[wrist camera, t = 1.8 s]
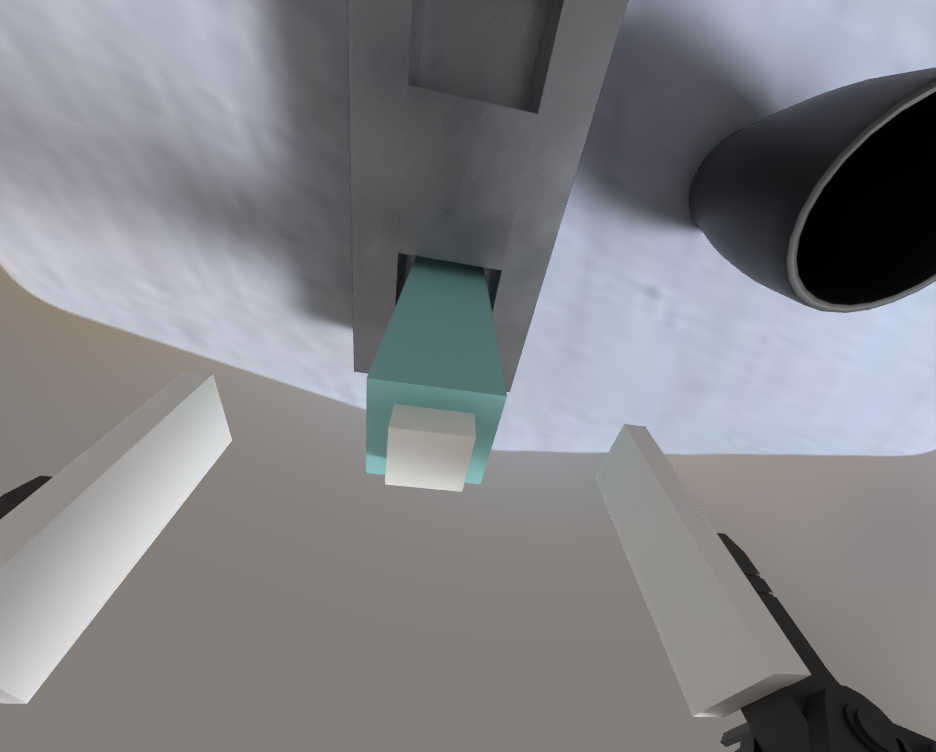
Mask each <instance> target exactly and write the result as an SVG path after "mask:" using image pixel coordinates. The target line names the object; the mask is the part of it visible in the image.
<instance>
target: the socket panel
mask: <svg viewBox="0 0 936 752" xmlns="http://www.w3.org/2000/svg"><path fill="white" fill-rule="evenodd" d="M627 2H628V0H347V3H348V59H349V116H350V172H351V229H352V285H353V342H354V372H362V373H369V372H370V369H371V367H372V364H373V362H374V359H375V357H376V354H377V352H378V349H379V347H380V344H381V342H382V339H383V337H384V334H385V332H386V329H387V327H388V324H389V322H390V319H391V317H392V314H393V312H394V310H395V307H396V305H397V302H398V300H399V297H400V295H401V292H402V290H403V287H404V285H405V282H406V280H407V277H408V275H409V272H410V270H411V267H412V265H413V262H414V260H415V257H416V256H421V257H427V258H432V259H438V260H444V261H450V262H456V263H462V264H468V265H473V266H479V267H484V271H485V277H486V282H487V288H488V294H489V299H490V305H491V310H492V316H493V322H494V327H495V333H496V338H497V344H498V350H499V355H500V361H501V366H502V372H503V378H504V383H505V389H506V392H510V389H511V386H512V382H513V379H514V376H515V373H516V369H517V366H518V363H519V359H520V356H521V353H522V349H523V346H524V343H525V339H526V336H527V333H528V330H529V326H530V323H531V320H532V316H533V313H534V310H535V306H536V303H537V300H538V297H539V293H540V290H541V287H542V283H543V280H544V277H545V273H546V270H547V267H548V263H549V260H550V257H551V254H552V250H553V247H554V244H555V240H556V237H557V234H558V230H559V227H560V224H561V221H562V217H563V214H564V211H565V207H566V204H567V201H568V197H569V194H570V191H571V187H572V184H573V181H574V178H575V174H576V171H577V168H578V164H579V161H580V158H581V154H582V151H583V148H584V145H585V141H586V138H587V135H588V131H589V128H590V125H591V121H592V118H593V115H594V111H595V108H596V105H597V102H598V98H599V95H600V92H601V88H602V85H603V82H604V78H605V75H606V72H607V69H608V65H609V62H610V59H611V55H612V52H613V49H614V45H615V42H616V39H617V35H618V32H619V29H620V26H621V22H622V19H623V16H624V12H625V9H626V6H627Z"/></svg>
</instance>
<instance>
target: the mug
mask: <svg viewBox="0 0 936 752" xmlns="http://www.w3.org/2000/svg"><path fill="white" fill-rule="evenodd" d="M689 209H690V213H691V217H692V219H693V220H694V222H695V223H696V225H697V226H698V227H700V229H701V230H702V231H703V233H704V234H705V236H706V237H707V239H708V240H709V241H710V243H711V244H712V245H713V247H714V248H715V249H716V250H717V251H718V252H719V253H720V254H721V255H722V256H723V257H724V258H725V259H727V260H728V261H729V262H730V263H731V264H732V265H734V266H735V267H736V268H738V269H739V270H740V271H741V272H743V273H744V274H746V275H747V276H748V277H750V278H751V279H753V280H754V281H756V282H758V283H760V284H762V285H764V286H766V287H768V288H770V289H772V290H774V291H776V292H778V293H780V294H782V295H784V296H786V297H789V298H791V299H793V300H795V301H797V302H799V303H801V304H803V305H806V306H809V307H811V308H814V309H817V310H820V311H827V312H842V313H848V312H855V311H862V310H869V309H872V308H876V307H879V306H882V305H886V304H889V303H892V302H895V301H897V300H899V299H902V298H904V297H906V296H908V295H911V294H913V293H915V292H917V291H919V290H921V289H923V288H925V287H926V286H928V285H930V284H931V283H933V282H935V281H936V68H930V69H924V70H918V71H913V72H907V73H901V74H896V75H890V76H884V77H879V78H873V79H868V80H865V81H861V82H858V83H854V84H851V85H847V86H844V87H840V88H837V89H835V90H832V91H829V92H826V93H823V94H821V95H818V96H815V97H813V98H810V99H808V100H805V101H803V102H800V103H798V104H796V105H793V106H791V107H789V108H786V109H784V110H782V111H779V112H777V113H775V114H773V115H770V116H768V117H766V118H764V119H762V120H760V121H759V122H757V123H755V124H753V125H751V126H749V127H747V128H745V129H742V130H740V131H738V132H735V133H734V134H732V135H731V136H729V137H728V138H726V139H724V140H723V141H722V142H721V143H720V144H719V145H718V146H716V147H715V148H714V149H713V150H712V151H711V152H710V154H709V155H708V156H707V157H706V159H705V160H704V161H703V163H702V164H701V166H700V168H699V169H698V171H697V173H696V175H695V177H694V180H693V182H692V185H691V189H690V194H689Z"/></svg>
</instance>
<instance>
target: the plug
mask: <svg viewBox="0 0 936 752" xmlns="http://www.w3.org/2000/svg"><path fill="white" fill-rule="evenodd" d="M506 397H507V394H506V389H505V383H504V378H503V372H502V366H501V361H500V355H499V350H498V344H497V338H496V333H495V327H494V322H493V316H492V310H491V305H490V299H489V294H488V288H487V282H486V277H485V271H484V267H479V266H473V265H468V264H462V263H456V262H450V261H444V260H438V259H432V258H427V257H421V256H416V257H415V260H414V262H413V265H412V267H411V270H410V272H409V275H408V277H407V280H406V282H405V285H404V287H403V290H402V292H401V295H400V297H399V300H398V302H397V305H396V307H395V310H394V312H393V314H392V317H391V319H390V322H389V324H388V327H387V329H386V332H385V334H384V337H383V339H382V342H381V344H380V347H379V349H378V352H377V354H376V357H375V359H374V362H373V364H372V367H371V369H370V372H369V374H368V376H367V419H366V424H367V425H366V426H367V427H366V428H367V429H366V473H373V474H383V475H386V479H385V484H387V485H398V486H408V487H418V488H429V489H439V490H440V489H441V490H449V491H460V492H462V490H463V486H464V483H474V484H481V481H482V478H483V474H484V471H485V468H486V464H487V461H488V458H489V454H490V451H491V447H492V444H493V441H494V437H495V434H496V431H497V427H498V424H499V421H500V417H501V414H502V411H503V407H504V404H505V401H506Z"/></svg>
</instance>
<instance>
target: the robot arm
mask: <svg viewBox="0 0 936 752" xmlns="http://www.w3.org/2000/svg"><path fill="white" fill-rule="evenodd" d="M231 441H232V439H231V435H230V432H229V429H228V425H227V421H226V418H225V415H224V411H223V407H222V404H221V401H220V397H219V394H218V390H217V387H216V383H215V380H214V376H213V374H210V373H201V372H194V371H186V370H185V371H184V372H183V373H181V374H180V375H179V376H178V377H176V378H175V379H174V380H173V381H171V382H170V383H169V384H168V385H167V386H165V387H164V388H163V389H162V390H160V391H159V392H158V393H157V394H155V395H154V396H153V397H152V398H150V399H149V400H148V401H147V402H145V403H144V404H143V405H142V406H140V407H139V408H138V409H137V410H136V411H134V412H133V413H132V414H131V415H129V416H128V417H127V418H126V419H124V420H123V421H122V422H121V423H119V424H118V425H117V426H116V427H114V429H112V430H111V431H110V432H108V433H107V434H106V435H105V436H103V437H102V438H101V439H100V440H98V442H96V443H95V444H93V445H92V446H91V447H90V448H89V449H87V450H86V451H85V452H84V453H82V454H81V455H80V456H79V457H77V458H76V459H75V460H74V461H72V462H71V463H70V464H69V465H67V466H66V467H65V468H64V469H63V470H61V471H60V472H59V473H58V474H56V475H55V476H54V477H49V476H39V477H37V478H35V479H33V480H31V481H29V482H27V483H25V484H23V485H21V486H20V487H18V488H16V489H14V490H12V491H10V492H8V493H6V494H4V495H2V496H1V497H0V703H19V704H27V703H28V701H29V700H30V699H31V698H32V696H33V695H34V694H35V692H36V691H37V690H38V689H39V687H40V686H41V685H42V683H43V682H44V681H45V680H46V678H47V677H48V676H49V674H50V673H51V672H52V670H53V669H54V668H55V667H56V665H57V664H58V663H59V661H60V660H61V659H62V658H63V656H64V655H65V654H66V653H67V651H68V650H69V649H70V647H71V646H72V645H73V644H74V642H75V641H76V640H77V638H78V637H79V636H80V635H81V633H82V632H83V631H84V630H85V628H86V627H87V626H88V624H89V623H90V622H91V621H92V619H93V618H94V617H95V615H96V614H97V613H98V612H99V610H100V609H101V608H102V607H103V605H104V604H105V603H106V601H107V600H108V599H109V598H110V596H111V595H112V594H113V592H114V591H115V590H116V588H117V587H118V586H119V585H120V583H121V582H122V581H123V580H124V578H125V577H126V576H127V574H128V573H129V572H130V570H131V569H132V568H133V567H134V565H135V564H136V563H137V562H138V560H139V559H140V558H141V556H142V555H143V554H144V553H145V551H146V550H147V549H148V547H149V546H150V545H151V544H152V542H153V541H154V540H155V539H156V537H157V536H158V535H159V533H160V532H161V531H162V530H163V528H164V527H165V526H166V524H167V523H168V522H169V520H170V519H171V518H172V517H173V515H174V514H175V513H176V512H177V510H178V509H179V507H180V506H181V505H182V504H183V503H184V501H185V500H186V499H187V497H188V496H189V495H190V494H191V492H192V491H193V489H194V488H195V487H196V486H197V485H198V483H199V482H200V481H201V479H202V478H203V476H205V474H206V473H207V472H208V471H209V469H210V468H211V467H212V465H213V464H214V463H215V462H216V460H217V459H218V458H219V456H220V455H221V454H222V452H223V451H224V450H225V449H226V447H227V446H228V445H229V443H230V442H231ZM594 478H595V480H596V483H597V485H598V488H599V490H600V492H601V495H602V497H603V500H604V502H605V504H606V507H607V509H608V512H609V514H610V517H611V519H612V522H613V524H614V527H615V529H616V531H617V534H618V536H619V538H620V541H621V543H622V546H623V548H624V551H625V553H626V556H627V558H628V560H629V563H630V565H631V568H632V570H633V572H634V575H635V577H636V580H637V582H638V585H639V587H640V589H641V592H642V594H643V597H644V599H645V602H646V604H647V606H648V609H649V611H650V614H651V616H652V619H653V621H654V624H655V626H656V628H657V631H658V633H659V636H660V638H661V640H662V643H663V645H664V648H665V650H666V653H667V655H668V657H669V660H670V662H671V665H672V667H673V670H674V672H675V674H676V677H677V679H678V682H679V684H680V687H681V689H682V692H683V694H684V696H685V699H686V701H687V704H688V706H689V709H690V711H691V713H692V716H694V717H695V716H696V717H725V716H727V715H729V714H731V713H733V712H735V711H737V710H739V709H741V711H742V712H743V714H744V717H745V718H746V720H747V722H746V723H744V724H742V725H739V726H737V727H735V728H732V729H730V730H729V731H727V732H725V733H724V734H723V737H722V740H721V743H722V744H723V745H724V746H726V747H727V746H730V745H732V744H735V743H737V742H740V741H741V742H740V748H738V749H737V750H736V751H735V752H936V741H934V740H931V739H929V738H927V737H924V736H922V735H920V734H917V733H915V732H912V731H910V730H908V729H906V728H903V727H901V726H899V725H896V724H894V723H892V722H891V720H890V719H889V718H888V717H887V716H886V715H885V714H884V713H883V712H882V711H881V710H880V709H879V708H878V707H877V706H875V705H874V704H873V703H872V702H871V701H869V700H868V699H867V698H866V697H864V696H863V695H862V694H860V693H858V692H856V691H854V690H852V689H851V688H849V687H847V686H842V685H840V684H839V683H838V682H837V681H836V680H835V678H834V677H833V676H832V675H831V673H830V672H829V671H828V669H827V668H826V667H825V665H824V664H823V663H822V661H821V660H820V658H819V657H818V656H817V654H816V653H815V651H814V650H813V648H812V647H811V646H810V644H809V643H808V641H807V640H806V639H805V637H804V636H803V634H802V633H801V632H800V630H799V629H798V627H797V626H796V624H795V623H794V622H793V620H792V619H791V617H790V616H789V614H788V613H787V612H786V610H785V609H784V607H783V606H782V605H781V603H780V602H779V600H778V599H777V598H776V597H774V596H773V592H772V590H771V589H770V588H769V586H768V585H767V583H766V582H765V581H764V579H761V578H760V574H759V572H758V571H757V569H756V568H755V566H754V565H753V564H752V562H751V561H750V560H749V558H748V557H747V555H746V554H745V553H744V552H743V551H742V550H741V549H740V548H739V547H738V546H737V545H736V544H735V543H734V542H733V541H732V540H731V539H730V538H729V537H728V536H727V535H726V534H721V533H716V532H715V530H714V529H713V527H712V526H711V524H710V523H709V521H708V520H707V518H706V517H705V515H704V514H703V512H702V511H701V509H700V508H699V506H698V505H697V503H696V502H695V500H694V499H693V497H692V496H691V494H690V493H689V491H688V490H687V488H686V487H685V485H684V484H683V482H682V481H681V480H680V478H679V476H678V475H677V473H676V472H675V470H674V469H673V467H672V466H671V464H670V463H669V461H668V460H667V458H666V457H665V455H664V454H663V452H662V451H661V450H660V448H659V447H658V445H657V444H656V442H655V441H654V439H653V438H652V436H651V435H650V433H649V432H648V430H647V429H646V427H643V426H635V425H627V424H624V426H623V428H622V429H621V431H620V433H619V435H618V436H617V438H616V440H615V442H614V444H613V445H612V447H611V449H610V451H609V452H608V454H607V456H606V458H605V460H604V461H603V463H602V465H601V467H600V468H599V470H598V472H597V474H596V476H595V477H594Z"/></svg>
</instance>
